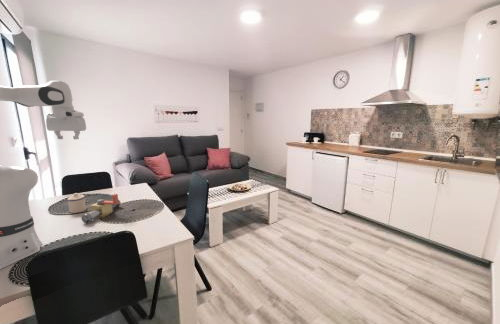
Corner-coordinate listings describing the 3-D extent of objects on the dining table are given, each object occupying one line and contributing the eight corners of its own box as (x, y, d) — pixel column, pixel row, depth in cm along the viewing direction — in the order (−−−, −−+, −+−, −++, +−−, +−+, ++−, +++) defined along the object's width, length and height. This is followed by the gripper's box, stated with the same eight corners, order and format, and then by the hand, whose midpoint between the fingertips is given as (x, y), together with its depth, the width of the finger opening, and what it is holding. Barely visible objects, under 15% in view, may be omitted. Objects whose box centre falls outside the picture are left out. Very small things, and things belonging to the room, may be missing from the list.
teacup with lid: (90, 208, 143) (87, 192, 140) (75, 214, 134) (72, 196, 132) (78, 206, 147) (75, 189, 145) (63, 211, 139) (59, 194, 136)
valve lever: (96, 204, 131) (94, 194, 130) (100, 201, 134) (99, 192, 133) (115, 205, 129) (114, 195, 128) (119, 202, 133) (118, 193, 132)
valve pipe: (92, 223, 122) (90, 211, 121) (81, 223, 123) (79, 210, 122) (122, 207, 146) (120, 196, 144) (112, 206, 147) (111, 195, 145)
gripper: (40, 113, 114) (45, 139, 116) (76, 113, 112) (80, 140, 115) (52, 113, 120) (56, 138, 123) (86, 113, 118) (90, 138, 121)
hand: (68, 139), depth 119 cm, fingers open, 8 cm apart
